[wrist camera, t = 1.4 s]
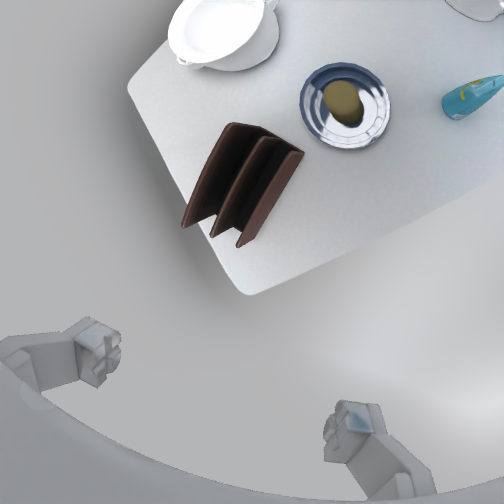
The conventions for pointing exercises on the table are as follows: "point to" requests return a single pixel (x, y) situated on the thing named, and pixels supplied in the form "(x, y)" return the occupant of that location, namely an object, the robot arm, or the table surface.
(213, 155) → the letter holder
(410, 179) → the table surface
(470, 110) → the tube
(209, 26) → the pot
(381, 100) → the bowl
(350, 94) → the cork
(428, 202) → the table surface
